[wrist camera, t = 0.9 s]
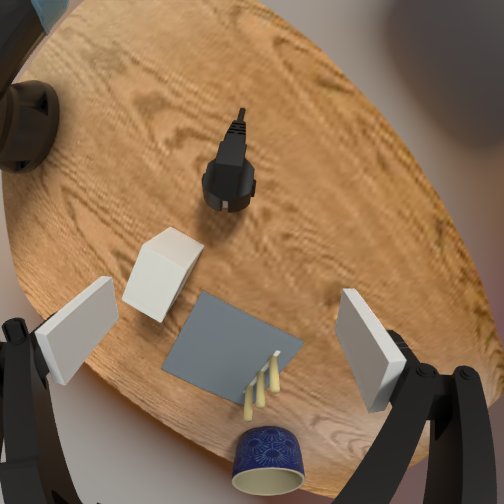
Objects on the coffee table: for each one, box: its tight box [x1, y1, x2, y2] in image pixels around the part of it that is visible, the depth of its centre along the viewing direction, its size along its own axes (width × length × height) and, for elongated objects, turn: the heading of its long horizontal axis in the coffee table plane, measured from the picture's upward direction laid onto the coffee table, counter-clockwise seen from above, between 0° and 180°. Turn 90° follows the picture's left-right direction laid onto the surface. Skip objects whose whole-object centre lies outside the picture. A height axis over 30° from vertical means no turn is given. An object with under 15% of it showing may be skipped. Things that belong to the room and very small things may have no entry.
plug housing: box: [122, 227, 204, 323], centre depth 31 cm, size 5×7×9 cm
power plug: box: [202, 108, 256, 213], centre depth 31 cm, size 6×8×12 cm
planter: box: [232, 426, 305, 495], centre depth 40 cm, size 12×12×11 cm
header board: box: [161, 290, 305, 422], centre depth 36 cm, size 16×16×7 cm
